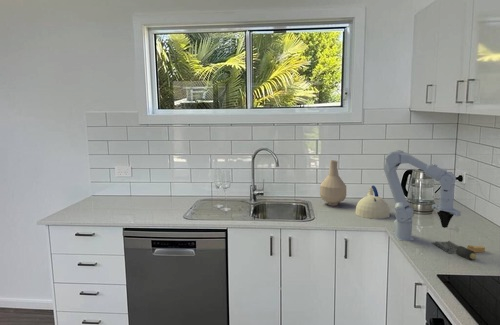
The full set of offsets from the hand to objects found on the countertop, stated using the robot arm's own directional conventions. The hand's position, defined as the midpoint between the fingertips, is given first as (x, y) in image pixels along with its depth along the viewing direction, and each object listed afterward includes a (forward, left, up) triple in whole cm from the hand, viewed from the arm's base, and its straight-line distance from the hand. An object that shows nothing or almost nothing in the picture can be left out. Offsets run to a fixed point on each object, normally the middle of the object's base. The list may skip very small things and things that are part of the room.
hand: (444, 227), depth 177 cm
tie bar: (+8, +10, -9) cm, 16 cm away
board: (+6, +1, -9) cm, 11 cm away
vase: (-83, -28, -10) cm, 88 cm away
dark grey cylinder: (+14, +2, -9) cm, 17 cm away
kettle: (-57, -11, -10) cm, 59 cm away
